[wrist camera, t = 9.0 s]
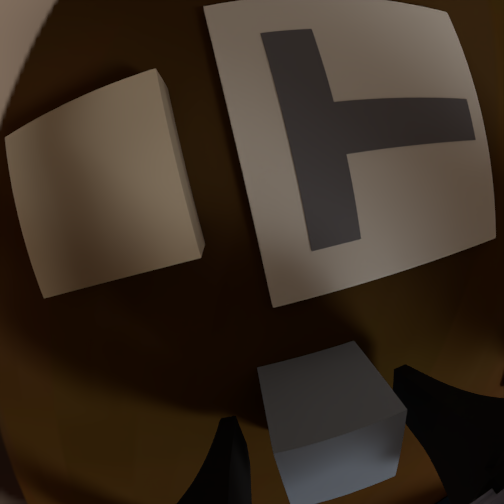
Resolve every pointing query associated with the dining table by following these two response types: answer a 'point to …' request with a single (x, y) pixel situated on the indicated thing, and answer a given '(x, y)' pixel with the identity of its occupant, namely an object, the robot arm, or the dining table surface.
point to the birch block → (104, 187)
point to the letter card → (352, 138)
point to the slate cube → (331, 423)
